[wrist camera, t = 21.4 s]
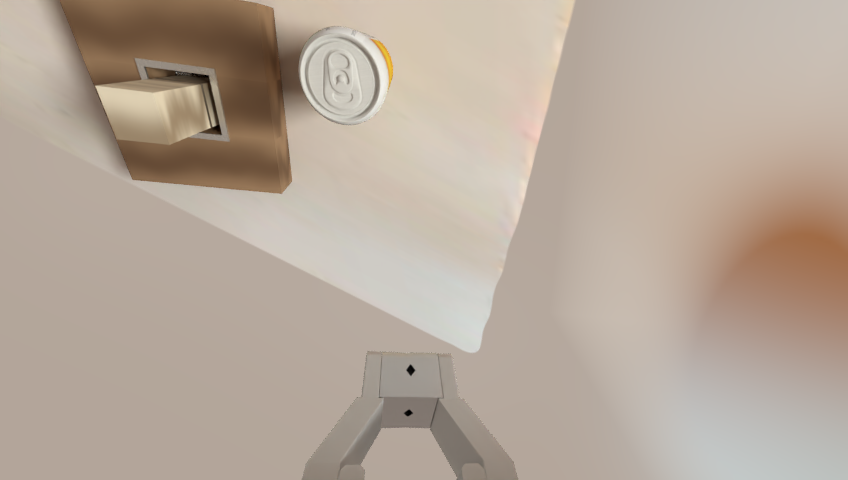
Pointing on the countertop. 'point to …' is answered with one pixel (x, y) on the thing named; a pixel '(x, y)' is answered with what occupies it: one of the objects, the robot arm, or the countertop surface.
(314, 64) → the beer can
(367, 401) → the robot arm
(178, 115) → the birch peg
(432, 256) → the countertop surface
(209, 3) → the walnut board
